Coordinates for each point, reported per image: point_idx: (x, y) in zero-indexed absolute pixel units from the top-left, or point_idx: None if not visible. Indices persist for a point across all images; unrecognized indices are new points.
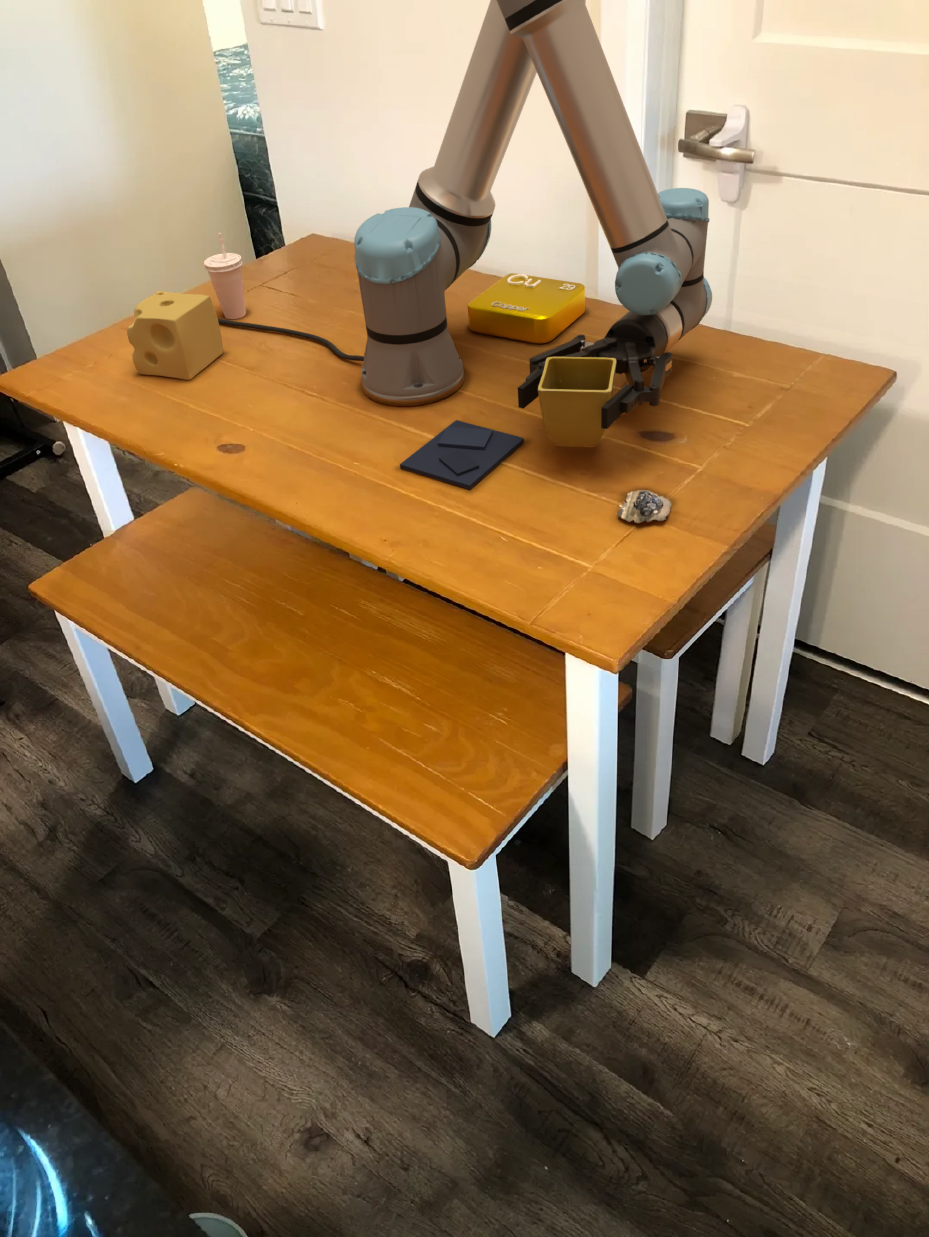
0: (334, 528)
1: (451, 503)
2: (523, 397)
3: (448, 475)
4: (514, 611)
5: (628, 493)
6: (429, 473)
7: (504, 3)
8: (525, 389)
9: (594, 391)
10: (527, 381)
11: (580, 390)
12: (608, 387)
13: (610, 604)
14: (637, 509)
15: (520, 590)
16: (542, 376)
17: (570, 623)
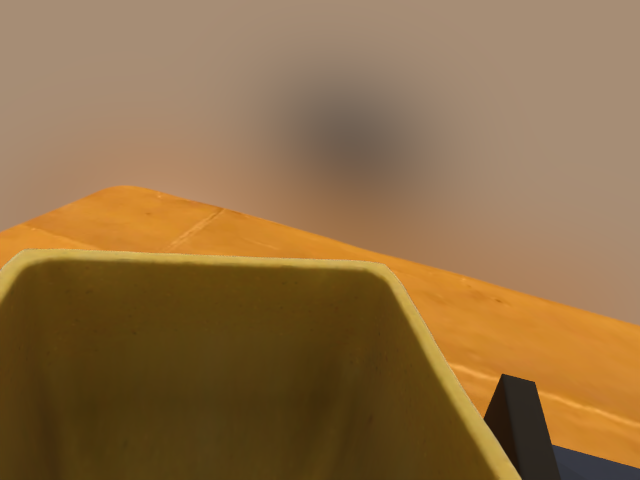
0: (596, 318)
1: (472, 386)
2: (486, 412)
3: (556, 455)
4: (248, 218)
5: None
6: (609, 460)
7: None
8: (500, 403)
9: (110, 251)
10: (539, 443)
11: (185, 256)
12: (17, 278)
13: (116, 222)
14: None
15: (249, 238)
16: (436, 348)
17: (173, 206)
